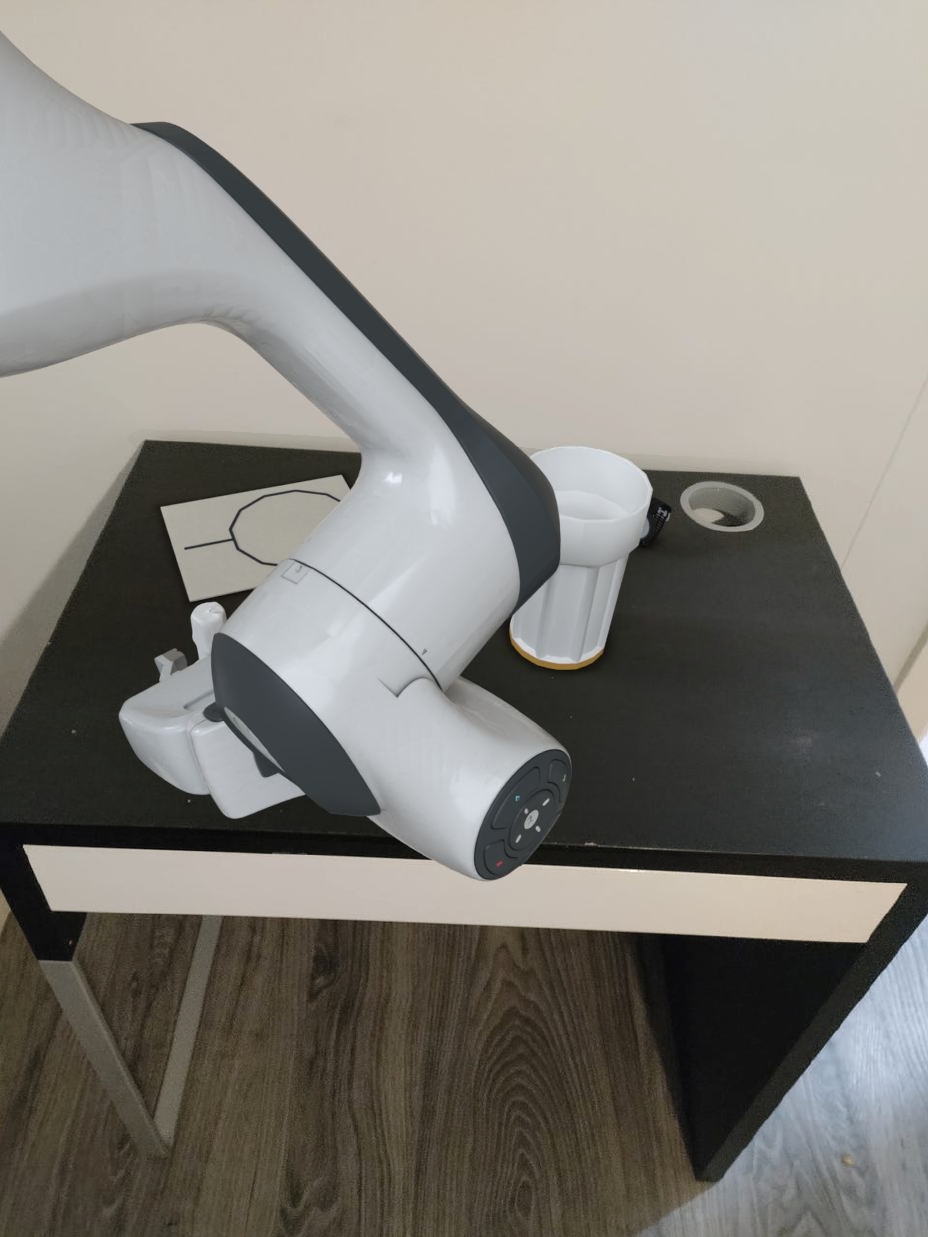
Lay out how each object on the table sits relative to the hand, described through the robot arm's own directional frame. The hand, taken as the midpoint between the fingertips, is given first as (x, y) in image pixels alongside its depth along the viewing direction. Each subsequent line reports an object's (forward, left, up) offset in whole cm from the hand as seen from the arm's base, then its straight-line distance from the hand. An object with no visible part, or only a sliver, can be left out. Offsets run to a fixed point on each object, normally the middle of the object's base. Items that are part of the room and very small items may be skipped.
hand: (228, 629), depth 64 cm
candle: (-1, +6, -15) cm, 17 cm away
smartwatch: (+46, +15, -15) cm, 51 cm away
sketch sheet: (+9, +29, -15) cm, 34 cm away
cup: (+30, +5, -15) cm, 35 cm away
